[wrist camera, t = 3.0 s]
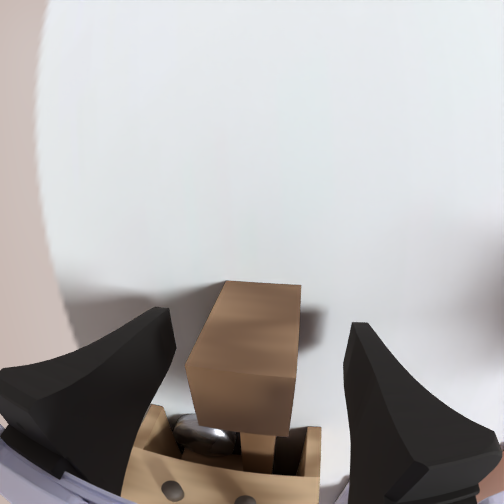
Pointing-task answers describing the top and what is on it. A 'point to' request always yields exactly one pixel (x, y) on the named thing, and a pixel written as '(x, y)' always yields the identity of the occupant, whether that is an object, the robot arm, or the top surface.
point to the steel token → (203, 437)
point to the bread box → (210, 473)
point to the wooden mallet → (247, 371)
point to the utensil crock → (492, 482)
